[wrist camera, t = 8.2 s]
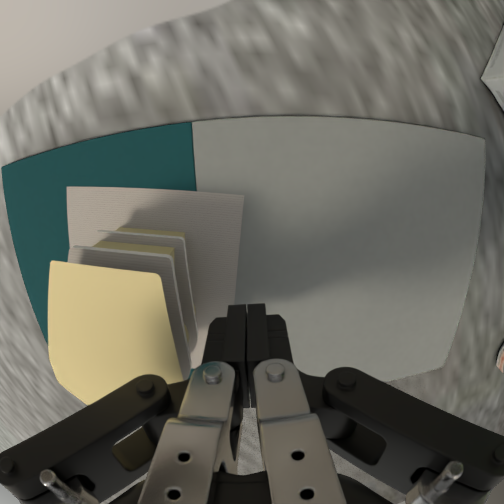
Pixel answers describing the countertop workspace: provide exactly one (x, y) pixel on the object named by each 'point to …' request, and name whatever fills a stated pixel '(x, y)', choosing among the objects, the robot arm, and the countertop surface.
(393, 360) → the board
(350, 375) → the robot arm
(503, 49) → the tea box
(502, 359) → the beer can
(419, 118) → the countertop surface
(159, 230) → the stacked layers on plate
